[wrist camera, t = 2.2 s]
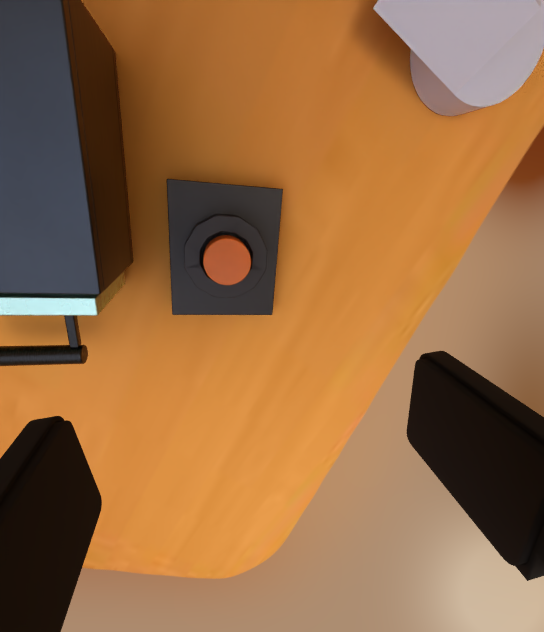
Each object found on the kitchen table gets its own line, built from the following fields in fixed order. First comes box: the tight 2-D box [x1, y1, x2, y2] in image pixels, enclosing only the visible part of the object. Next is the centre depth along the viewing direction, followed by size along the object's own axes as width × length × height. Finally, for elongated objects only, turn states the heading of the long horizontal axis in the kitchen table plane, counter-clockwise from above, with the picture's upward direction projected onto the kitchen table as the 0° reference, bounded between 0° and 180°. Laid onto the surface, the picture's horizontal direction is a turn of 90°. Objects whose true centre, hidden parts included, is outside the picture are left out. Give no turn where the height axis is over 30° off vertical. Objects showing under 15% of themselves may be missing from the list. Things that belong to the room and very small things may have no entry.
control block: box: [167, 179, 283, 315], centre depth 26 cm, size 11×9×4 cm
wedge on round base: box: [373, 0, 544, 116], centre depth 22 cm, size 9×7×13 cm
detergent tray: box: [0, 272, 125, 366], centre depth 20 cm, size 18×11×7 cm, turn 175°
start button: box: [203, 235, 251, 285], centre depth 24 cm, size 4×4×2 cm
